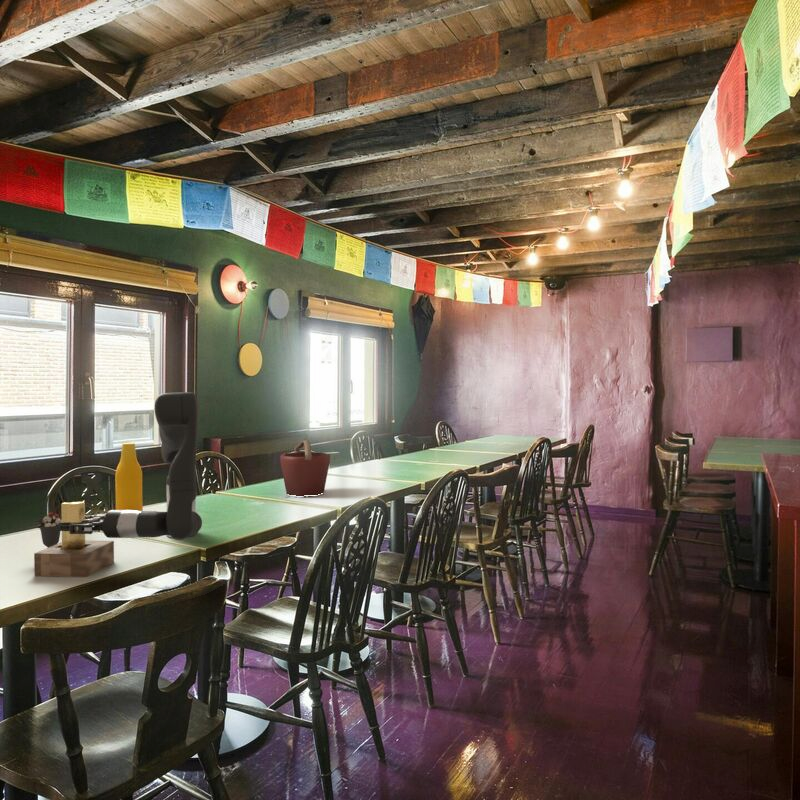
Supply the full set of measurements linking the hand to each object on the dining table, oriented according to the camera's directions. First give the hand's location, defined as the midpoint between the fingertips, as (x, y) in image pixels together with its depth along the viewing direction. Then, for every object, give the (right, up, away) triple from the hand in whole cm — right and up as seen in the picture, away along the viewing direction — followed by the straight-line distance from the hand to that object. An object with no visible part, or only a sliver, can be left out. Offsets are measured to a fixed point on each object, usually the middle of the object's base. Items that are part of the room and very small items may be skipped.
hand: (68, 523), depth 168 cm
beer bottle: (-9, -11, +59) cm, 61 cm away
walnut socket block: (+2, -12, 0) cm, 13 cm away
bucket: (+47, -10, +116) cm, 126 cm away
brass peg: (+2, -12, 0) cm, 13 cm away
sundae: (-10, -12, +9) cm, 19 cm away
